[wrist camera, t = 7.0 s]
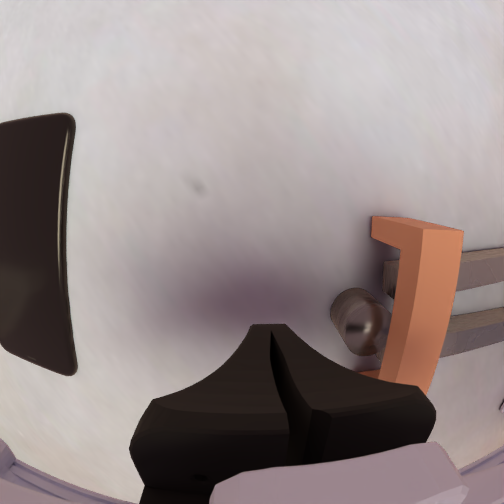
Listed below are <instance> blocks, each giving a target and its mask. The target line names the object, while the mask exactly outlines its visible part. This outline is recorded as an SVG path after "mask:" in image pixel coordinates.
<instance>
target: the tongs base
mask: <svg viewBox="0 0 504 504" xmlns="http://www.w3.org/2000/svg"><path fill="white" fill-rule="evenodd" d="M391 317H392V314H391V313H390V312H389V311H388V310H387V309H386V308H385V307H384V306H383V305H381V304H380V303H379V302H378V301H377V300H376V299H375V298H374V297H373V296H372V295H371V294H369V293H368V292H367V291H366V290H364V289H361V288H351V289H348V290H346V291H344V292H342V293H341V294H340V295H339V296H338V297H337V298H336V299H335V301H334V302H333V304H332V307H331V319H332V322H333V323H334V325H335V327H336V328H337V330H338V332H339V333H340V335H341V337H342V338H343V340H344V342H345V343H346V345H347V347H348V348H349V350H350V351H351V352H352V353H354V354H356V355H359V356H369V355H373V354H375V355H376V356H377V358H378V359H379V361H380V362H381V363H382V361H383V357H384V352H385V348H386V343H387V338H388V333H389V328H390V323H391ZM501 341H504V307H501V308H496V309H491V310H486V311H480V312H475V313H469V314H463V315H457V316H450V319H449V324H448V328H447V331H446V335H445V339H444V343H443V346H442V350H441V353H440V356H439V358H441V357H446V356H450V355H454V354H458V353H462V352H466V351H470V350H474V349H477V348H481V347H484V346H488V345H491V344H494V343H497V342H501Z"/></svg>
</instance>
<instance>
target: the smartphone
mask: <svg viewBox="0 0 504 504" xmlns="http://www.w3.org/2000/svg"><path fill="white" fill-rule="evenodd" d="M75 130H76V124H75V120H74V118H73V116H72V115H70V114H68V113H55V114H47V115H40V116H34V117H28V118H22V119H17V120H12V121H7V122H3V123H0V344H1V345H2V347H3V348H4V349H5V350H6V351H8V352H9V353H11V354H13V355H16V356H18V357H20V358H22V359H24V360H27V361H29V362H31V363H33V364H36V365H38V366H41V367H43V368H46V369H48V370H51V371H53V372H56V373H59V374H61V375H64V376H72V375H74V374H75V373H76V372H77V368H78V365H77V359H76V353H75V347H74V340H73V332H72V325H71V318H70V306H69V298H68V284H67V262H66V221H67V200H68V186H69V176H70V166H71V158H72V151H73V144H74V138H75Z"/></svg>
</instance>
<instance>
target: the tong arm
mask: <svg viewBox="0 0 504 504" xmlns="http://www.w3.org/2000/svg"><path fill="white" fill-rule="evenodd" d="M399 261H400V260H394V261H384V266H383V287H382V291H384V292H385V293H386V294H387V295H389V296H390V297H391V298H392V299H395V293H396V286H397V278H398V270H399ZM501 281H504V248H497V249H490V250H482V251H474V252H465V253H461V260H460V267H459V274H458V280H457V286H456V291H461V290H466V289H470V288H475V287H480V286H484V285H488V284H493V283H497V282H501ZM456 291H455V292H456Z"/></svg>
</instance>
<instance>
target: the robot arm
mask: <svg viewBox="0 0 504 504" xmlns="http://www.w3.org/2000/svg"><path fill="white" fill-rule="evenodd" d="M500 411H501V412H502V413H503V412H504V403H503V405H502V407H501V409H500ZM435 421H436V410H435V408H434V406H433V404H432V403H431V402H430V400H429V399H428V398H427V397H426V395H425V394H424V393H423V391H422V390H421V389H420V388H419V387H418V386H416V385H408V384H400V383H393V382H388V381H384V380H380V379H376V378H372V377H369V376H366V375H362V374H360V373H357V372H355V371H352V370H349V369H347V368H345V367H343V366H341V365H339V364H337V363H335V362H333V361H331V360H329V359H328V358H326V357H324V356H323V355H321V354H320V353H319V352H317V351H316V350H314V349H313V348H312V347H310V346H309V345H308V344H306V343H305V342H304V341H303V340H302V339H301V338H299V337H298V336H297V335H296V334H295V333H294V332H293V331H292V330H291V329H290V328H289V327H288V326H287V325H286V324H253V325H252V326H250V329H249V331H248V333H247V335H246V337H245V339H244V340H243V341H242V343H241V344H240V346H239V347H238V349H237V350H236V351H235V352H234V353H233V355H232V356H231V357H230V358H229V359H228V360H227V361H226V362H225V363H224V364H223V365H222V366H221V367H220V368H218V369H217V370H216V371H215V372H213V373H212V374H210V375H209V376H207V377H206V378H204V379H203V380H201V381H199V382H198V383H196V384H194V385H192V386H190V387H187V388H185V389H183V390H181V391H178V392H175V393H172V394H169V395H166V396H163V397H160V398H156V399H153V400H152V401H151V403H150V404H149V406H148V408H147V409H146V410H145V412H144V414H143V415H142V417H141V419H140V421H139V423H138V425H137V428H136V430H135V432H134V435H133V437H132V439H131V442H130V447H129V451H130V455H131V458H132V460H133V462H134V465H135V467H136V469H137V471H138V473H139V475H140V477H141V479H142V481H143V483H144V485H145V486H144V490H143V493H142V496H141V499H140V503H139V504H504V445H503V446H501V447H500V448H498V449H496V450H495V451H493V452H491V453H490V454H488V455H486V456H484V457H483V458H481V459H479V460H477V461H475V462H473V463H471V464H469V465H467V466H465V467H463V468H461V469H459V470H458V469H457V468H456V466H455V465H454V463H453V462H452V460H451V459H450V457H449V455H448V454H447V452H446V451H445V449H444V448H443V447H442V446H440V445H439V444H438V443H437V442H427V443H426V441H427V439H428V437H429V435H430V433H431V431H432V429H433V427H434V424H435ZM0 504H135V503H131V502H127V501H123V500H119V499H116V498H112V497H109V496H105V495H102V494H99V493H96V492H93V491H90V490H87V489H84V488H81V487H78V486H76V485H73V484H70V483H68V482H65V481H63V480H60V479H58V478H56V477H53V476H51V475H49V474H47V473H44V472H42V471H40V470H38V469H36V468H34V467H32V466H30V465H28V464H26V463H24V462H22V461H20V460H18V459H16V457H15V455H14V454H13V452H12V450H11V449H10V448H9V446H8V445H7V444H6V443H5V442H4V441H3V440H2V439H0Z"/></svg>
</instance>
